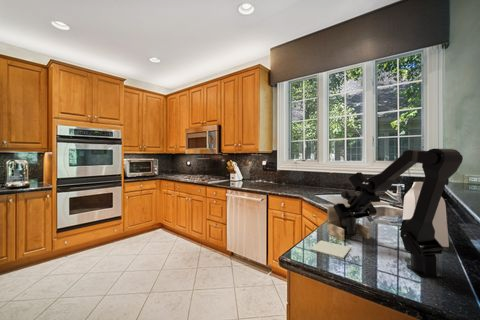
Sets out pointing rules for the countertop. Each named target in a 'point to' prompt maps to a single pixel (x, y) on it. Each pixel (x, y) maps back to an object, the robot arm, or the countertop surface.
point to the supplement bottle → (349, 225)
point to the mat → (331, 249)
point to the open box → (338, 232)
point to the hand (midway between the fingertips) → (346, 219)
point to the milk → (439, 217)
